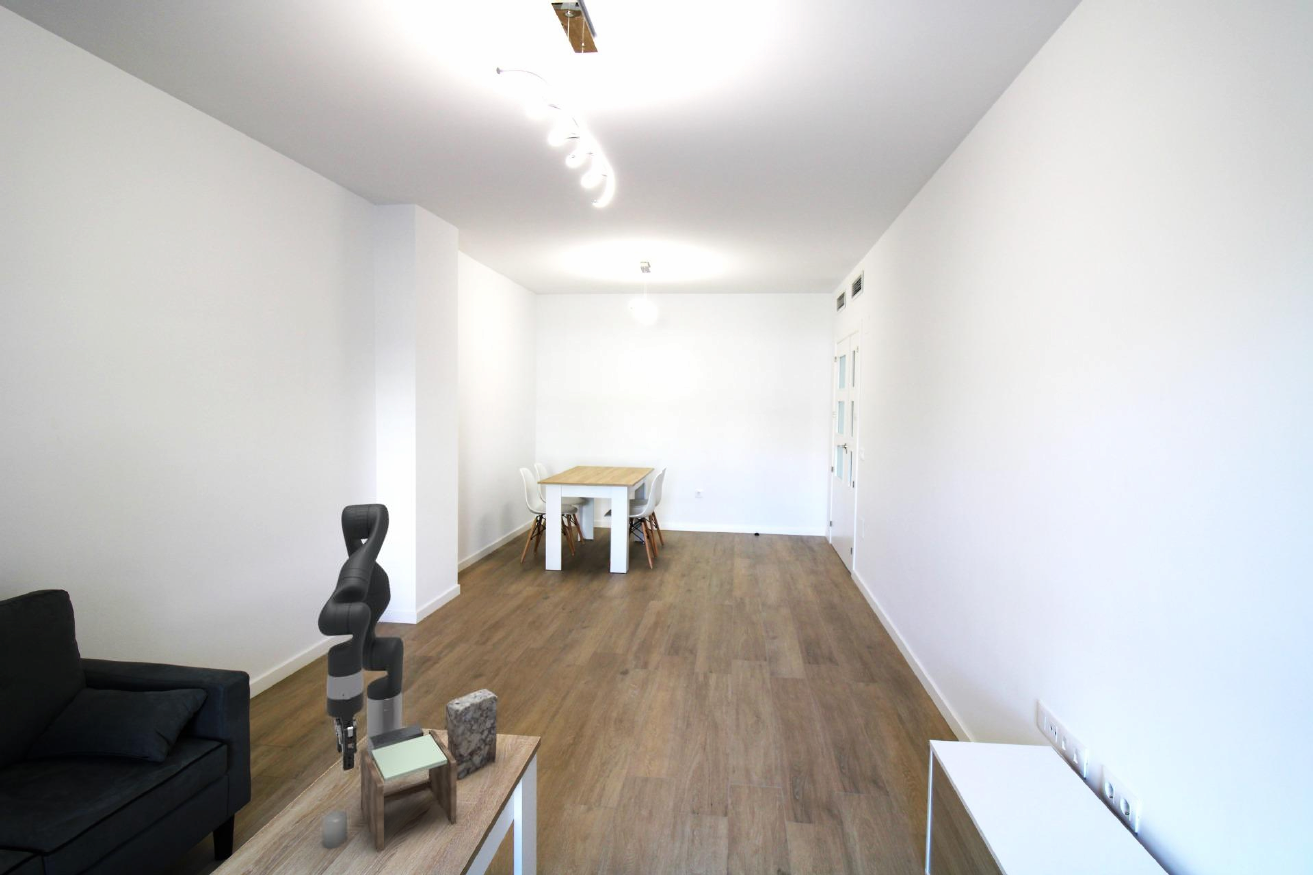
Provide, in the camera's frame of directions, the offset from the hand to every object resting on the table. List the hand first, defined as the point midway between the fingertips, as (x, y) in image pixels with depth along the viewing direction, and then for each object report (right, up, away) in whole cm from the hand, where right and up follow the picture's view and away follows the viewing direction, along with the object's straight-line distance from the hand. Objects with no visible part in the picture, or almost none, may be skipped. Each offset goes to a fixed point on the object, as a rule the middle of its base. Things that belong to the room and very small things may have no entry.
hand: (345, 759), depth 143 cm
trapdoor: (+9, -6, +11) cm, 16 cm away
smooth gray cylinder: (-3, -19, +1) cm, 19 cm away
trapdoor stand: (+11, -19, +9) cm, 23 cm away
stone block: (+20, -18, +31) cm, 41 cm away
